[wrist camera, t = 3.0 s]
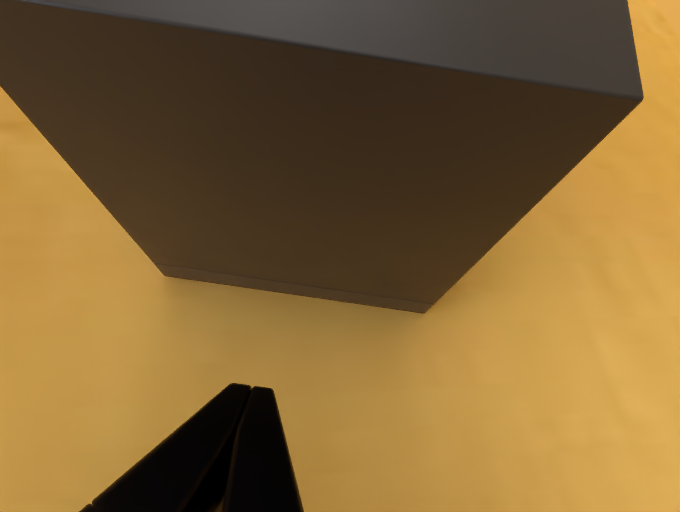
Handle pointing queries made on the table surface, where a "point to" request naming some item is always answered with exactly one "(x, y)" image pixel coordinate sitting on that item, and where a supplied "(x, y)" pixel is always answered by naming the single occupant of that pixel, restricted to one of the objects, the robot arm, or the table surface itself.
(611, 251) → the table surface
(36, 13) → the coffee maker
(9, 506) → the table surface
